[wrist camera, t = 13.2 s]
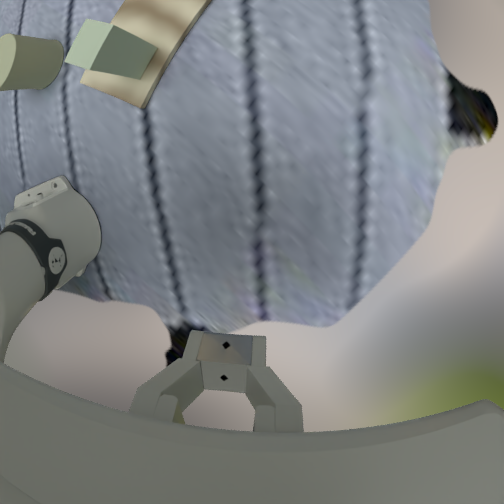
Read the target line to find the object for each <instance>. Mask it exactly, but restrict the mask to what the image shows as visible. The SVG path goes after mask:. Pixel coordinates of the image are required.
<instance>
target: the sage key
mask: <svg viewBox="0 0 504 504" xmlns="http://www.w3.org/2000/svg"><path fill="white" fill-rule="evenodd" d="M156 50H157V47H156V46H154V45H152V44H150V43H148V42H147V41H145V40H143V39H141V38H139V37H137V36H135V35H133V34H131V33H129V32H127V31H125V30H123V29H121V28H119V27H117V26H115V25H112V24H108V23H104V22H100V21H95V20H90V19H86V20H85V22H84V24H83V26H82V27H81V29H80V31H79V33H78V35H77V37H76V39H75V41H74V42H73V44H72V46H71V48H70V51H69V53H68V55H67V57H66V59H65V61H64V62H67V63H70V64H73V65H76V66H79V67H82V68H85V69H88V70H92V71H98V72H104V73H109V74H114V75H120V76H124V77H129V78H134V79H138V80H140V78H141V76H142V75H143V73H144V71H145V69H146V67H147V65H148V64H149V62H150V60H151V58H152V57H153V55H154V53H155V52H156Z"/></svg>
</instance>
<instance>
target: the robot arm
mask: <svg viewBox="0 0 504 504" xmlns="http://www.w3.org/2000/svg"><path fill="white" fill-rule="evenodd" d="M56 184H57V186H56ZM100 244H101V231H100V226H99V222H98V219H97V217H96V214H95V212H94V210H93V209H92V207H91V206H90V204H89V203H88V202H87V200H86V199H85V198H84V197H83V196H81V195H80V194H79V193H77V192H76V191H75V190H74V189H73V188H72V187H71V185H70V183H69V182H68V180H67V179H66V178H65V177H64V176H58V177H56V178H53V179H51V180H49V181H46V182H44V183H42V184H39V185H37V186H35V187H32V188H30V189H28V190H26V191H24V192H22V193H20V194H18V195H17V196H16V197H15V202H14V209H13V210H12V211H10V212H9V213H7V215H6V220H5V227H4V229H3V230H2V231H1V232H0V504H504V410H503V409H502V408H500V407H499V406H498V405H496V404H495V403H493V402H491V401H490V400H487V399H483V400H480V401H477V402H474V403H471V404H468V405H465V406H462V407H459V408H455V409H453V410H449V411H445V412H442V413H438V414H434V415H430V416H426V417H422V418H418V419H413V420H408V421H403V422H399V423H393V424H387V425H381V426H374V427H366V428H358V429H349V430H339V431H324V432H304V430H303V416H302V405H301V404H300V403H299V402H298V400H297V399H296V398H295V397H294V396H293V395H292V393H291V392H290V391H289V390H288V389H287V387H286V386H285V385H284V384H283V383H282V381H281V380H280V379H279V378H278V377H277V375H276V374H275V373H274V372H273V370H272V369H271V368H270V367H266V336H251V335H235V334H222V333H213V332H205V331H204V332H203V331H195V330H192V331H191V333H190V335H189V339H188V342H187V345H186V348H185V351H184V355H183V358H182V359H180V358H179V359H177V360H176V361H175V362H173V363H172V364H170V365H169V366H168V367H166V368H165V369H164V370H162V371H161V372H159V373H158V374H157V375H155V376H154V377H153V378H151V379H150V380H148V381H147V382H146V383H144V384H143V385H141V386H140V387H138V389H137V391H136V394H135V396H134V399H133V402H132V404H131V407H130V409H129V412H125V411H121V410H118V409H114V408H111V407H107V406H104V405H101V404H98V403H94V402H92V401H88V400H85V399H83V398H80V397H77V396H74V395H72V394H69V393H66V392H64V391H61V390H59V389H56V388H54V387H51V386H49V385H47V384H44V383H42V382H40V381H38V380H36V379H33V378H31V377H29V376H27V375H25V374H23V373H21V372H19V371H17V370H15V369H13V368H11V367H9V366H7V365H6V364H4V359H5V354H6V351H7V348H8V344H9V342H10V340H11V337H12V335H13V333H14V331H15V330H16V328H17V327H18V325H19V324H20V322H21V321H22V320H23V319H24V317H25V316H26V315H27V314H28V312H29V311H30V310H31V309H32V308H33V306H34V305H35V304H36V303H37V302H38V301H42V300H43V299H44V298H45V297H47V296H48V295H49V294H50V293H51V292H52V290H53V289H59V288H60V287H62V286H63V285H64V284H65V283H66V282H68V281H69V280H70V279H71V278H72V277H74V276H77V277H79V276H81V275H82V274H83V273H84V272H85V269H86V266H87V264H88V263H89V262H91V261H92V260H93V259H94V258H95V257H96V255H97V254H98V251H99V249H100ZM252 342H253V343H252ZM204 389H208V390H220V391H221V390H222V391H230V392H239V393H246V396H247V397H248V399H249V401H250V402H251V404H252V406H253V407H254V409H255V419H254V427H253V432H250V431H235V430H224V429H215V428H206V427H199V426H192V425H186V424H185V421H184V418H183V415H182V412H183V411H184V410H185V409H186V408H187V407H188V406H189V405H190V404H191V403H192V402H193V401H194V400H195V399H196V398H197V397H198V396H199V395H200V394H201V393H202V392H203V390H204Z"/></svg>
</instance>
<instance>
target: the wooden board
mask: <svg viewBox="0 0 504 504" xmlns="http://www.w3.org/2000/svg"><path fill="white" fill-rule="evenodd" d="M211 1H212V0H125V1H124V3H123V4H122V6H121V7H120V9H119V10H118V12H117V13H116V15H115V16H114V18H113V20H112V21H111V23H110V24H112V25H115V26H117V27H119V28H121V29H123V30H125V31H127V32H129V33H131V34H133V35H135V36H137V37H139V38H141V39H143V40H145V41H147V42H148V43H150V44H152V45H154V46H156V47H157V50H156V52H155V53H154V55H153V57H152V58H151V60H150V62H149V64H148V65H147V67H146V69H145V71H144V73H143V75H142V76H141V78H140V80H138V79H134V78H129V77H124V76H120V75H114V74H109V73H104V72H98V71H92V70H88V69H86V70H85V72H84V74H83V76H82V79H81V81H80V83H82V84H85V85H87V86H90V87H92V88H95V89H97V90H100V91H102V92H105V93H107V94H109V95H112V96H114V97H116V98H119V99H121V100H123V101H125V102H128V103H130V104H132V105H134V106H137V107H139V108H145V107H146V105H147V103H148V101H149V99H150V97H151V95H152V93H153V91H154V89H155V87H156V86H157V84H158V82H159V80H160V78H161V77H162V75H163V73H164V71H165V69H166V68H167V66H168V64H169V63H170V61H171V59H172V58H173V56H174V54H175V53H176V51H177V50H178V48H179V46H180V45H181V43H182V42H183V40H184V39H185V37H186V36H187V34H188V33H189V31H190V30H191V28H192V27H193V25H194V24H195V22H196V21H197V20H198V18H199V17H200V15H201V14H202V13H203V11H204V10H205V9H206V7H207V6H208V5H209V3H210V2H211Z"/></svg>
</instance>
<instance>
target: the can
mask: <svg viewBox="0 0 504 504" xmlns="http://www.w3.org/2000/svg"><path fill="white" fill-rule="evenodd" d="M63 57H64V51H63V47H62V45H61V43H60V42H59V41H57V40H47V39H41V38H35V37H28V36H21V35H14V34H5V35H3V36H2V37H1V38H0V91H6V90H18V89H37V90H39V89H43V88H45V87H47V86H48V85H50V84H51V83H52V82H53V80H54V79H55V78H56V76H57V75H58V73H59V71H60V68H61V66H62V62H63Z"/></svg>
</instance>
